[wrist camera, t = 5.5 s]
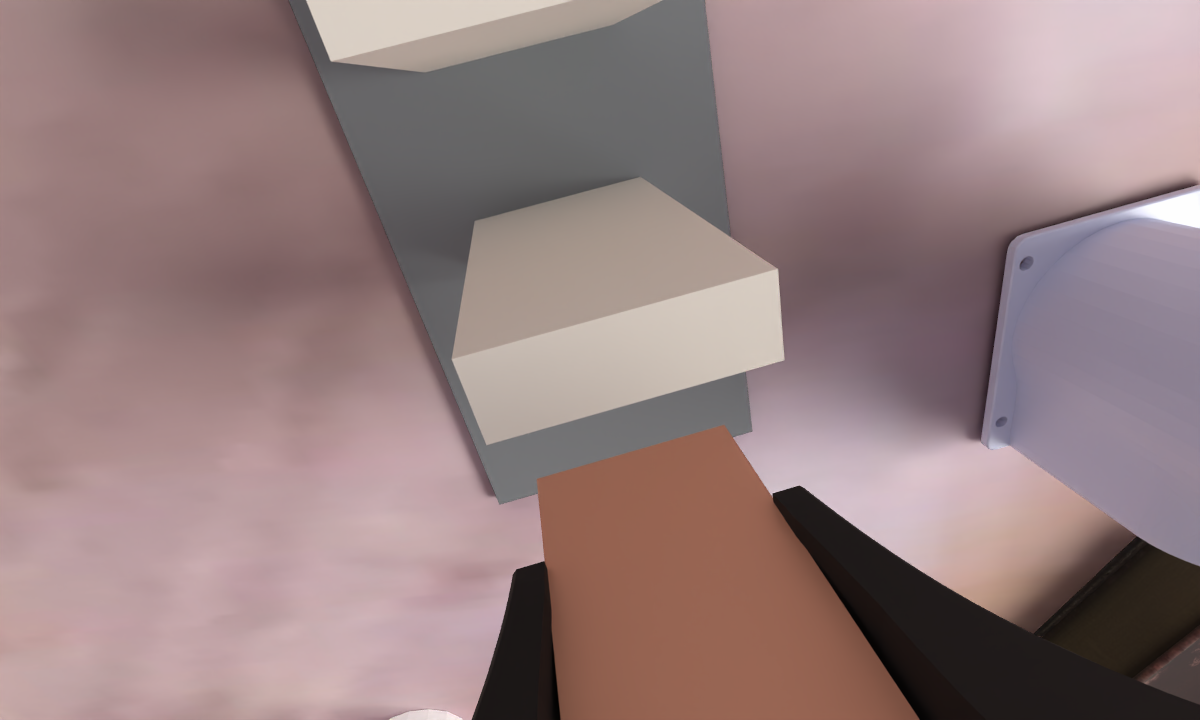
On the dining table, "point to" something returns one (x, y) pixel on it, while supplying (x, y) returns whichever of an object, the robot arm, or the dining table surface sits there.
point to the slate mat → (540, 187)
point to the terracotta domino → (696, 597)
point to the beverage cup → (426, 715)
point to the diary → (1137, 620)
